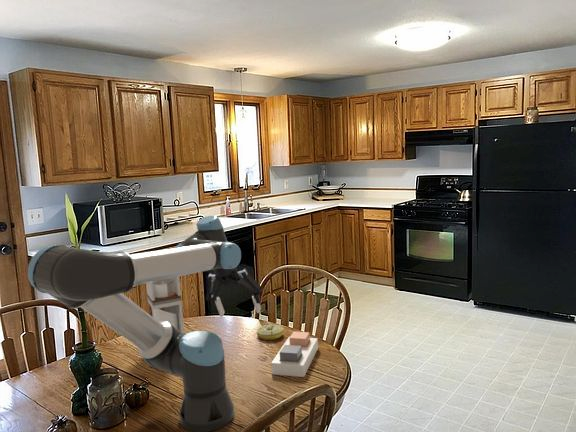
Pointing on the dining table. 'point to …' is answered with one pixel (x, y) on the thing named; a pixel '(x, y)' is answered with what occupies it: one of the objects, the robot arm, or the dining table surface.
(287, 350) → the charcoal key
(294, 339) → the terracotta key
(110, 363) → the dining table surface
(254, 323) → the dining table surface
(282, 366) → the key panel
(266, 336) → the decorated donut
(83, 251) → the robot arm
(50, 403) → the dining table surface
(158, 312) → the display case
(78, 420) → the dining table surface
